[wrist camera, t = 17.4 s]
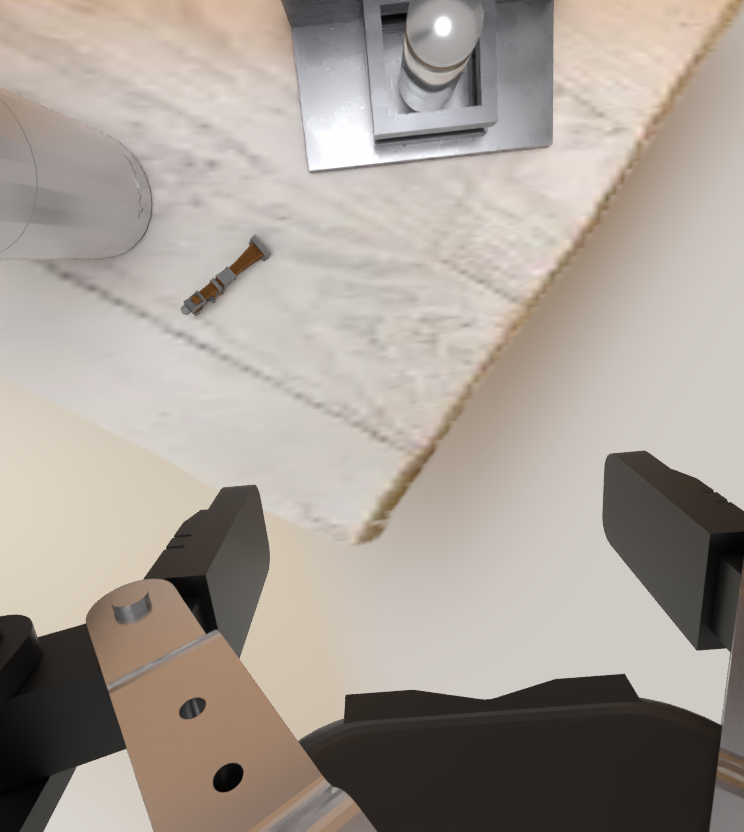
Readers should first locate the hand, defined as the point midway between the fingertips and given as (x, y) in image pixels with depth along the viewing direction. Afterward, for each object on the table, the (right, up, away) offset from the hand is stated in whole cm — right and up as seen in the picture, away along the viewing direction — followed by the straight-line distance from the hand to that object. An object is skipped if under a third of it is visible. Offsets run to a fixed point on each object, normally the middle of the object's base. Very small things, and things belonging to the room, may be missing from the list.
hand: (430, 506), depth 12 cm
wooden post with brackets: (-13, +13, +30) cm, 35 cm away
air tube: (+3, +26, +24) cm, 36 cm away
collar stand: (+2, +27, +25) cm, 37 cm away
